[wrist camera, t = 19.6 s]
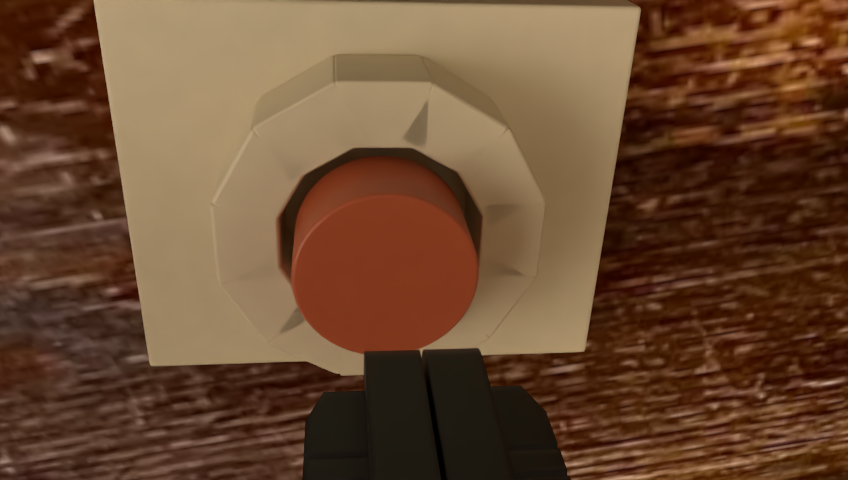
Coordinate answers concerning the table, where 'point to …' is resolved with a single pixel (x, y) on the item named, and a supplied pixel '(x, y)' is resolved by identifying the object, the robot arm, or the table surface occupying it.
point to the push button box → (361, 155)
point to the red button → (382, 256)
